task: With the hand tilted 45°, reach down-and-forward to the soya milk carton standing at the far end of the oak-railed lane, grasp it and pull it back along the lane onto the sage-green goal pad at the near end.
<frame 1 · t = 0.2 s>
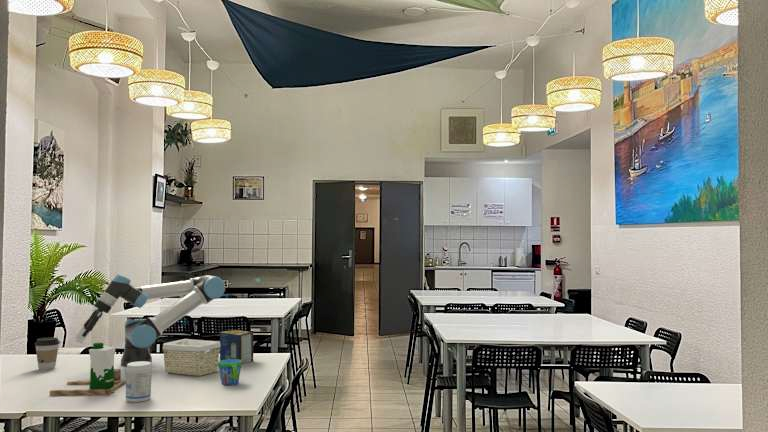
hand: (77, 340, 295), 16 cm above the table, tool tilted 35°, fingers open, 13 cm apart
broken strip: (99, 383, 277), on the table
snack cup: (229, 384, 275), on the table
walnut cube: (112, 381, 277), point 1 cm above the table, touching broken strip
protein box: (236, 361, 327), on the table
supplement tub: (138, 400, 248), on the table
lane: (86, 390, 264), on the table
coffee cup: (46, 369, 308), on the table
storage basket: (191, 372, 300), on the table
soya milk: (101, 390, 264), resting in lane
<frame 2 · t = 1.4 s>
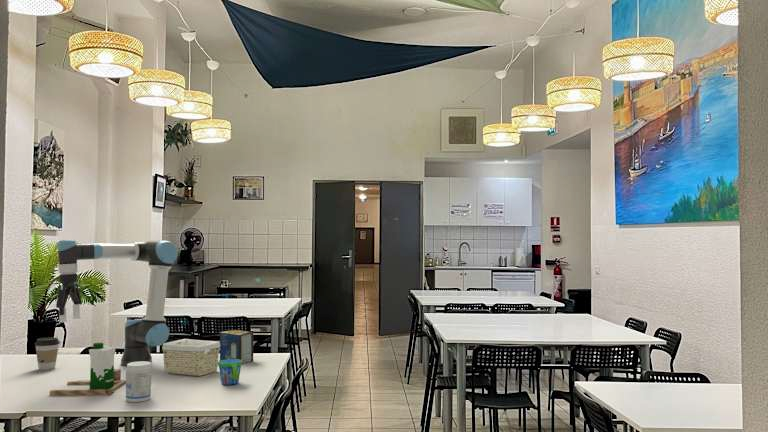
hand: (70, 320, 278), 28 cm above the table, tool pointing down, fingers open, 13 cm apart
nothing on the table moved.
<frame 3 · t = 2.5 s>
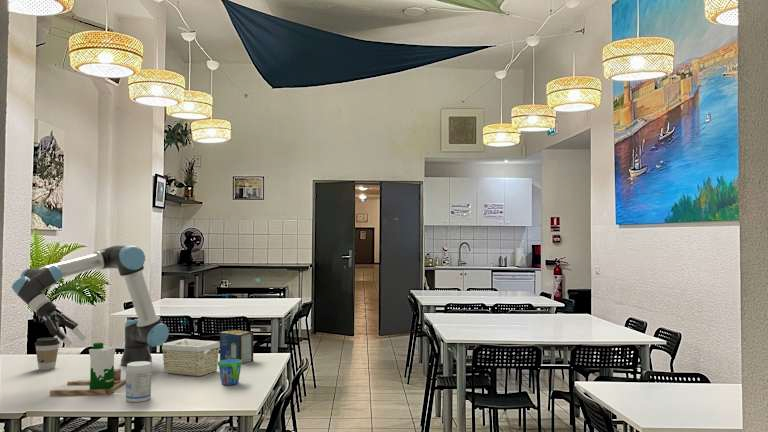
hand: (77, 341, 264), 21 cm above the table, tool tilted 45°, fingers open, 13 cm apart
nothing on the table moved.
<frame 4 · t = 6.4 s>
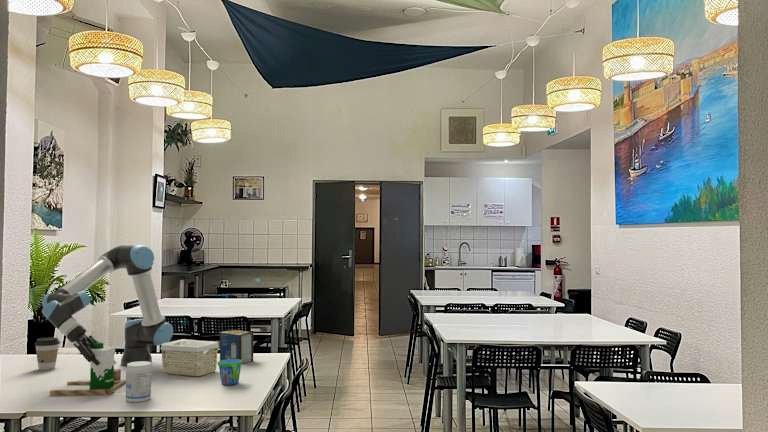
hand: (109, 367, 265), 10 cm above the table, tool tilted 45°, fingers closed on soya milk, 9 cm apart
soya milk: (101, 390, 264), resting in lane, touching gripper
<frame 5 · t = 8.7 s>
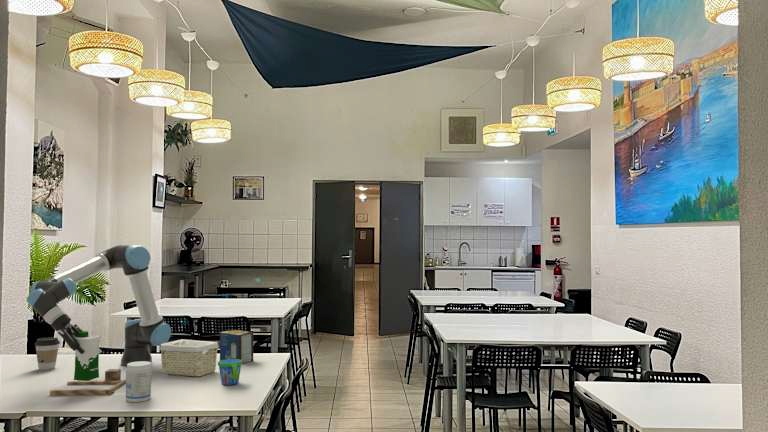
hand: (94, 355, 264), 15 cm above the table, tool tilted 45°, fingers closed on soya milk, 9 cm apart
soya milk: (86, 379, 264), point 5 cm above the table, touching gripper
when the fingers open (11 cm above the table, at t = 11.2 s): soya milk drops 1 cm, resting on lane.
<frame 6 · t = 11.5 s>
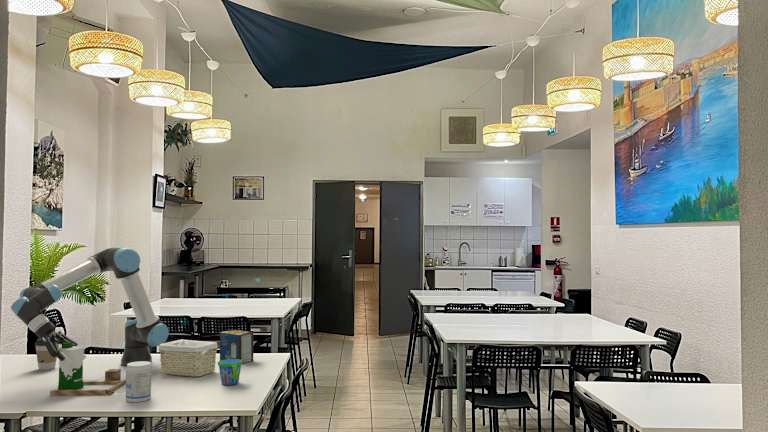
hand: (77, 361, 264), 12 cm above the table, tool tilted 45°, fingers open, 13 cm apart
soya milk: (70, 390, 263), resting on lane
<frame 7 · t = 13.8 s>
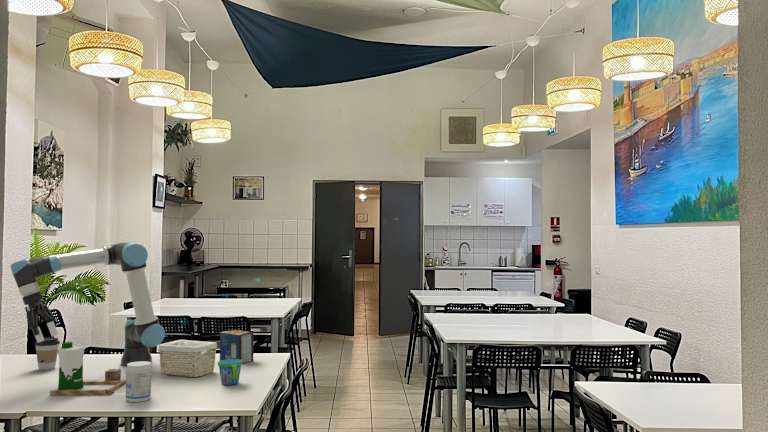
hand: (48, 338, 272), 21 cm above the table, tool tilted 20°, fingers open, 13 cm apart
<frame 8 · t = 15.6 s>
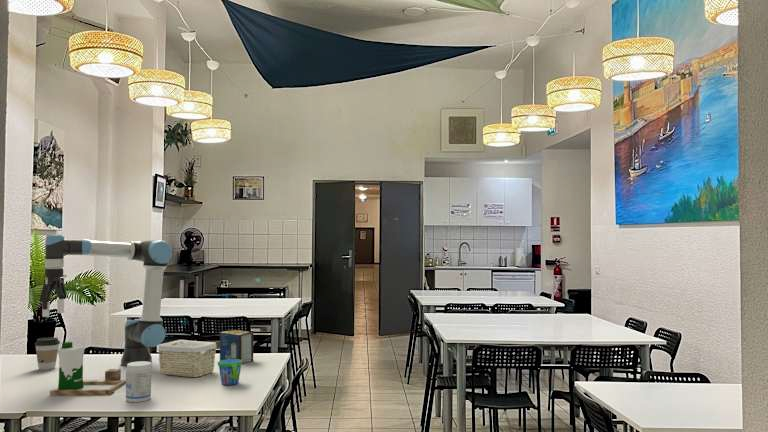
hand: (53, 314, 279), 31 cm above the table, tool pointing down, fingers open, 13 cm apart
at the end: soya milk inside the target area (0.2 cm from its centre), resting on lane; soya milk tilted 0°; the gripper is holding nothing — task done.
